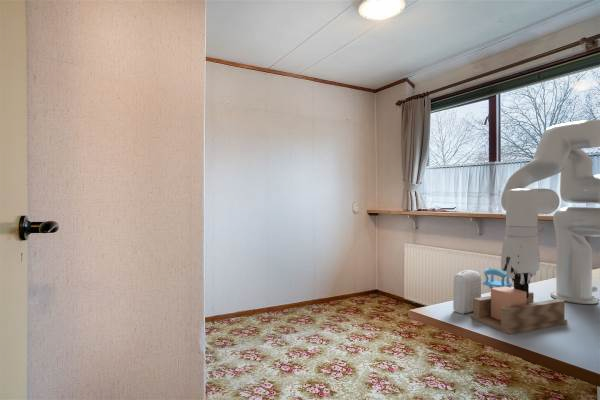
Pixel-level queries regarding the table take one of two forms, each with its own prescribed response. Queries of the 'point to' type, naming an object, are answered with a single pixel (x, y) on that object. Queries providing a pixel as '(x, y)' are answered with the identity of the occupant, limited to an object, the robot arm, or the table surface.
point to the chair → (493, 282)
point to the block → (505, 299)
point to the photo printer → (466, 290)
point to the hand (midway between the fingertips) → (521, 297)
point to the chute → (520, 315)
